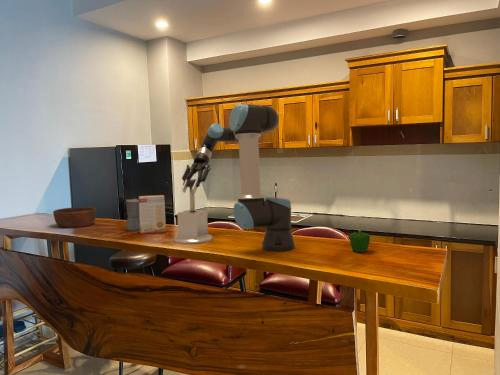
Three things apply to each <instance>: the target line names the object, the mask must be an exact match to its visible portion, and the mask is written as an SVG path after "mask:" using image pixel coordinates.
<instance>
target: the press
mask: <svg viewBox="0 0 500 375" xmlns="http://www.w3.org/2000/svg"><path fill="white" fill-rule="evenodd" d="M208 229H209V228H208V210H203V209H202V210H200V209H199V210H198V209H195V212H190V209H186V210H183V211H180V212H177V235H176V236H174V237H173V238H172V239H173V242H174V243H176V244H181V245H196V244H198V245H199V244H203V243H204V244H205V243H208V242H211V241H212V240H214V236H213V235H212V234H209V232H208Z"/></svg>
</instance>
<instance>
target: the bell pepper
mask: <svg viewBox="0 0 500 375" xmlns="http://www.w3.org/2000/svg"><path fill="white" fill-rule="evenodd" d="M370 242H371V236H370V234H369V233H366V232H362V229H358V232H356V231H354V232H353V233H350V235H349V243H350V247H351V250H352V251H354V252H356V253H365V252H367V250H368V249H369V245H370Z"/></svg>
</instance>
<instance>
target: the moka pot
mask: <svg viewBox="0 0 500 375" xmlns="http://www.w3.org/2000/svg"><path fill="white" fill-rule="evenodd" d="M124 203H125V205H126V209H125V205H124ZM120 205H121V209H122V212H123V215H125V216H127V220H126V227H125V229H126V231H129V232H132V231H135V232H136V231H140V214H139V198H138V199H137V198H136V195H135V196H132V199H125V198H123V199H122V200H121V202H120Z"/></svg>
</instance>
